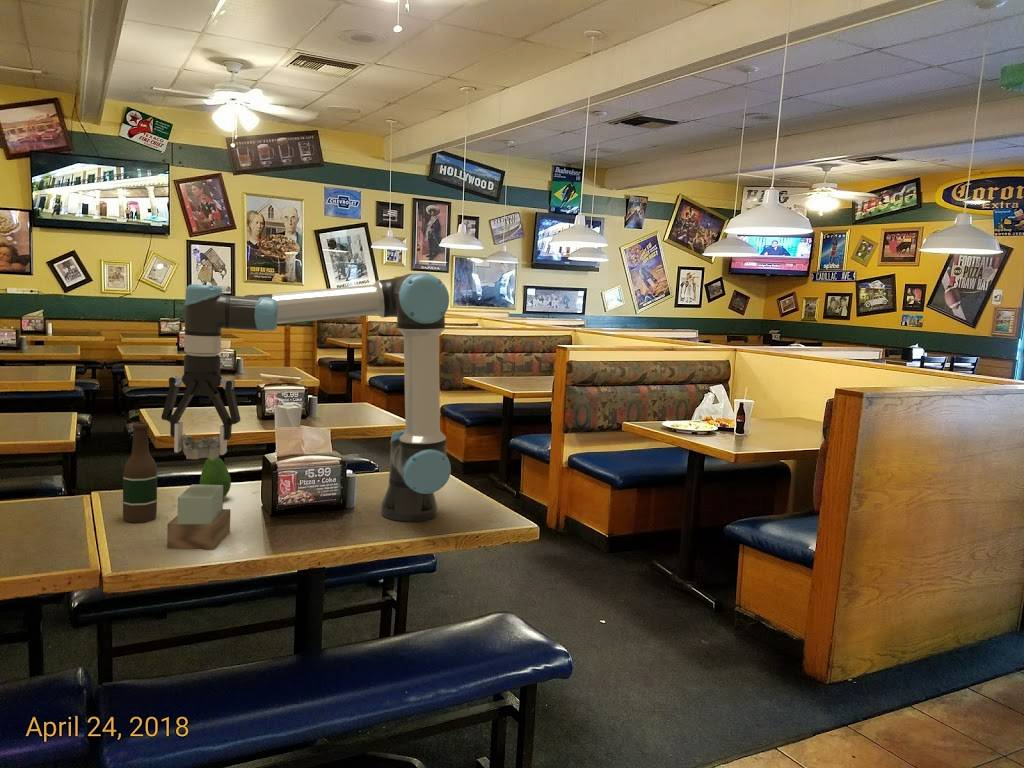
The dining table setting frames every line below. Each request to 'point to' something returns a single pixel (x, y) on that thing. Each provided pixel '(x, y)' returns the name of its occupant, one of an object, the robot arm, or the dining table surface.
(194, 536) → the tower base block
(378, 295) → the robot arm
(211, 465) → the fruit
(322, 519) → the dining table surface
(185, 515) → the tower top block
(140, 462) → the beer bottle
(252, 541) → the dining table surface
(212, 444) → the egg carton
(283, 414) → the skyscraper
